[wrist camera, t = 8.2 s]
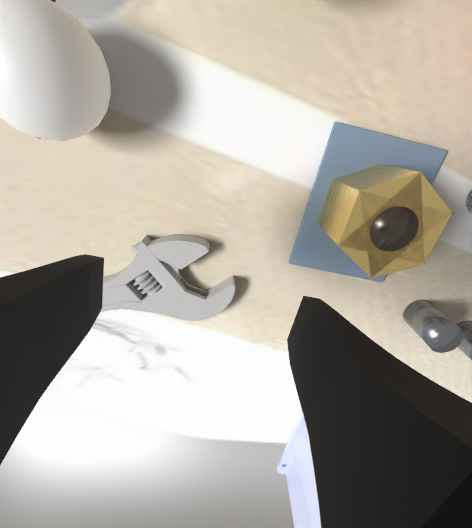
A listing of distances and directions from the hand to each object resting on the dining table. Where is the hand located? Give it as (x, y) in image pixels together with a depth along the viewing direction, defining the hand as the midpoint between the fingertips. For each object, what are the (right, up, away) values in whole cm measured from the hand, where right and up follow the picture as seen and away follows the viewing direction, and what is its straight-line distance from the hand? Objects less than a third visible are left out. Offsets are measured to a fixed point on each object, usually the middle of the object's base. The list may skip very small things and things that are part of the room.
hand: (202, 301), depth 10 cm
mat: (+9, +5, +8) cm, 13 cm away
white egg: (-9, +11, +5) cm, 15 cm away
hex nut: (+9, +5, +8) cm, 13 cm away
